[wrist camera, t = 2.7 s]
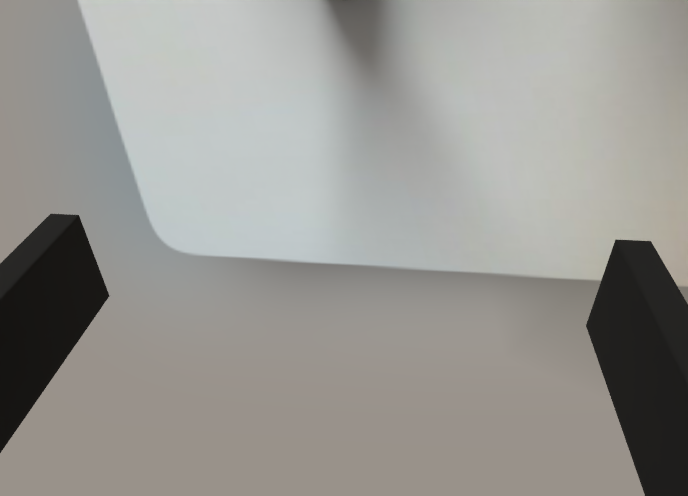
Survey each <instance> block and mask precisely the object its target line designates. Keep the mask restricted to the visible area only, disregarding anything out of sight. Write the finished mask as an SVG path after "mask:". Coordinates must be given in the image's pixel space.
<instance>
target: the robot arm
mask: <svg viewBox="0 0 688 496" xmlns="http://www.w3.org/2000/svg"><path fill="white" fill-rule="evenodd" d="M108 297H109V294H108V291H107V288H106V286H105V283H104V280H103V278H102V275H101V273H100V270H99V267H98V265H97V262H96V259H95V257H94V254H93V252H92V249H91V246H90V244H89V241H88V238H87V236H86V233H85V230H84V228H83V225H82V223H81V220H80V217H79V215H64V214H50V215H49V216H48V217H47V218H46V219H45V220H44V221H43V222H42V223H41V224H40V225H39V226H38V227H37V228H36V229H35V230H34V231H33V232H32V233H31V234H30V235H29V236H28V237H27V238H26V239H25V240H24V241H23V242H22V243H21V244H20V245H19V246H18V247H17V248H16V249H15V250H14V251H13V252H12V253H11V254H10V255H9V256H8V257H7V258H6V259H5V260H4V261H3V262H2V263H1V264H0V453H1V451H2V450H3V448H4V447H5V445H6V444H7V443H8V441H9V440H10V438H11V437H12V435H13V434H14V432H15V431H16V430H17V428H18V427H19V425H20V424H21V422H22V421H23V419H24V418H25V417H26V415H27V414H28V412H29V411H30V409H31V408H32V407H33V405H34V404H35V402H36V401H37V399H38V398H39V396H40V395H41V394H42V392H43V391H44V389H45V388H46V386H47V385H48V384H49V382H50V381H51V379H52V378H53V376H54V375H55V373H56V372H57V371H58V369H59V368H60V366H61V365H62V363H63V362H64V360H65V359H66V357H67V356H68V354H69V353H70V352H71V350H72V349H73V347H74V346H75V345H76V343H77V342H78V340H79V339H80V337H81V336H82V335H83V333H84V332H85V330H86V329H87V327H88V326H89V325H90V323H91V322H92V320H93V319H94V317H95V316H96V314H97V313H98V312H99V310H100V309H101V307H102V306H103V304H104V303H105V301H106V300H107V299H108ZM586 327H587V329H588V332H589V335H590V338H591V341H592V344H593V346H594V350H595V353H596V355H597V358H598V361H599V364H600V367H601V370H602V373H603V376H604V378H605V381H606V384H607V387H608V390H609V393H610V396H611V399H612V401H613V404H614V407H615V410H616V413H617V416H618V419H619V422H620V425H621V427H622V430H623V433H624V436H625V439H626V442H627V445H628V447H629V450H630V453H631V456H632V459H633V462H634V465H635V468H636V470H637V473H638V476H639V479H640V482H641V485H642V487H643V491H644V493H645V496H688V304H687V302H686V301H685V299H684V297H683V296H682V294H681V292H680V290H679V289H678V287H677V285H676V284H675V282H674V280H673V278H672V277H671V275H670V273H669V272H668V270H667V268H666V267H665V265H664V263H663V261H662V260H661V258H660V256H659V255H658V253H657V251H656V249H655V248H654V246H653V244H652V243H651V241H633V240H615V243H614V246H613V249H612V252H611V255H610V258H609V261H608V263H607V266H606V269H605V272H604V275H603V278H602V281H601V284H600V287H599V290H598V293H597V295H596V298H595V301H594V304H593V307H592V310H591V313H590V316H589V319H588V321H587V325H586Z"/></svg>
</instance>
